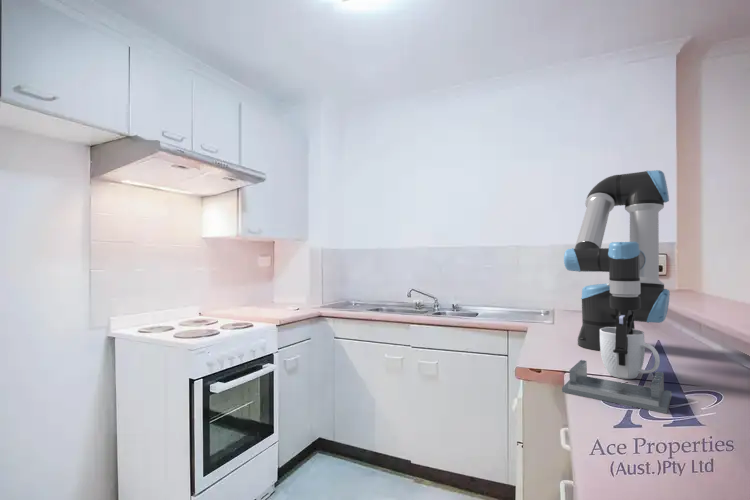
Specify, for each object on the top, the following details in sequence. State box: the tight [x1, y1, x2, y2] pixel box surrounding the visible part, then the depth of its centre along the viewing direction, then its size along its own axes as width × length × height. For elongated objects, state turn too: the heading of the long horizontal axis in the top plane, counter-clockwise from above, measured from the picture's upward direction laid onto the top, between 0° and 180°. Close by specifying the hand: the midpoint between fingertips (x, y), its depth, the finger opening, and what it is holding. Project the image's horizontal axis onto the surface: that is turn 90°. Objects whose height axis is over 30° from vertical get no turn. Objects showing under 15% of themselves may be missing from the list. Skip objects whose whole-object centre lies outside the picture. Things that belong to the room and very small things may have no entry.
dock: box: [561, 359, 672, 415], centre depth 100 cm, size 13×22×6 cm, turn 49°
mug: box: [599, 327, 661, 380], centre depth 112 cm, size 15×11×13 cm
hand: (626, 371), depth 113 cm, fingers closed on mug, 11 cm apart
